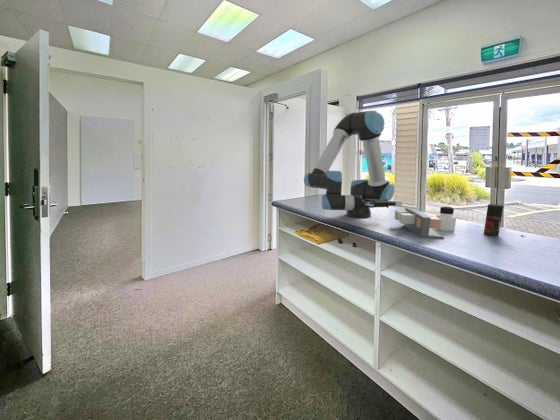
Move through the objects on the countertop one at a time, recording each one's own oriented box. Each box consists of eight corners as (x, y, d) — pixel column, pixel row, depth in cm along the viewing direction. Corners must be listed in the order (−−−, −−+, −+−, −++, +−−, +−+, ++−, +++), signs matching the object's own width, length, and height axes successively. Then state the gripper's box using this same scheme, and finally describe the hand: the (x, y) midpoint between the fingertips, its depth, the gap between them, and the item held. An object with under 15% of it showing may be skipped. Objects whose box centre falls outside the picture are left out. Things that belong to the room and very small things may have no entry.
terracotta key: (419, 228, 136) (420, 218, 135) (416, 225, 140) (417, 216, 139) (440, 228, 135) (441, 219, 134) (436, 226, 139) (437, 217, 139)
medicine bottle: (454, 231, 147) (457, 208, 145) (439, 230, 148) (442, 207, 146) (449, 227, 154) (452, 206, 151) (435, 227, 155) (437, 205, 153)
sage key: (397, 220, 152) (397, 211, 151) (394, 218, 156) (395, 210, 155) (415, 220, 151) (416, 212, 150) (412, 218, 156) (413, 210, 155)
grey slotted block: (421, 238, 134) (423, 217, 132) (403, 225, 159) (405, 207, 157) (443, 238, 134) (446, 218, 132) (422, 225, 158) (424, 207, 156)
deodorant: (484, 232, 145) (488, 203, 142) (498, 234, 141) (503, 205, 138) (483, 235, 140) (487, 205, 137) (498, 237, 136) (503, 206, 133)
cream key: (402, 223, 144) (402, 215, 143) (399, 221, 148) (400, 213, 148) (421, 224, 143) (422, 215, 142) (418, 222, 148) (419, 213, 147)
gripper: (350, 207, 149) (396, 208, 148) (355, 212, 136) (405, 213, 135) (351, 193, 148) (397, 194, 146) (355, 197, 135) (407, 198, 133)
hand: (401, 203), depth 141 cm, fingers closed
